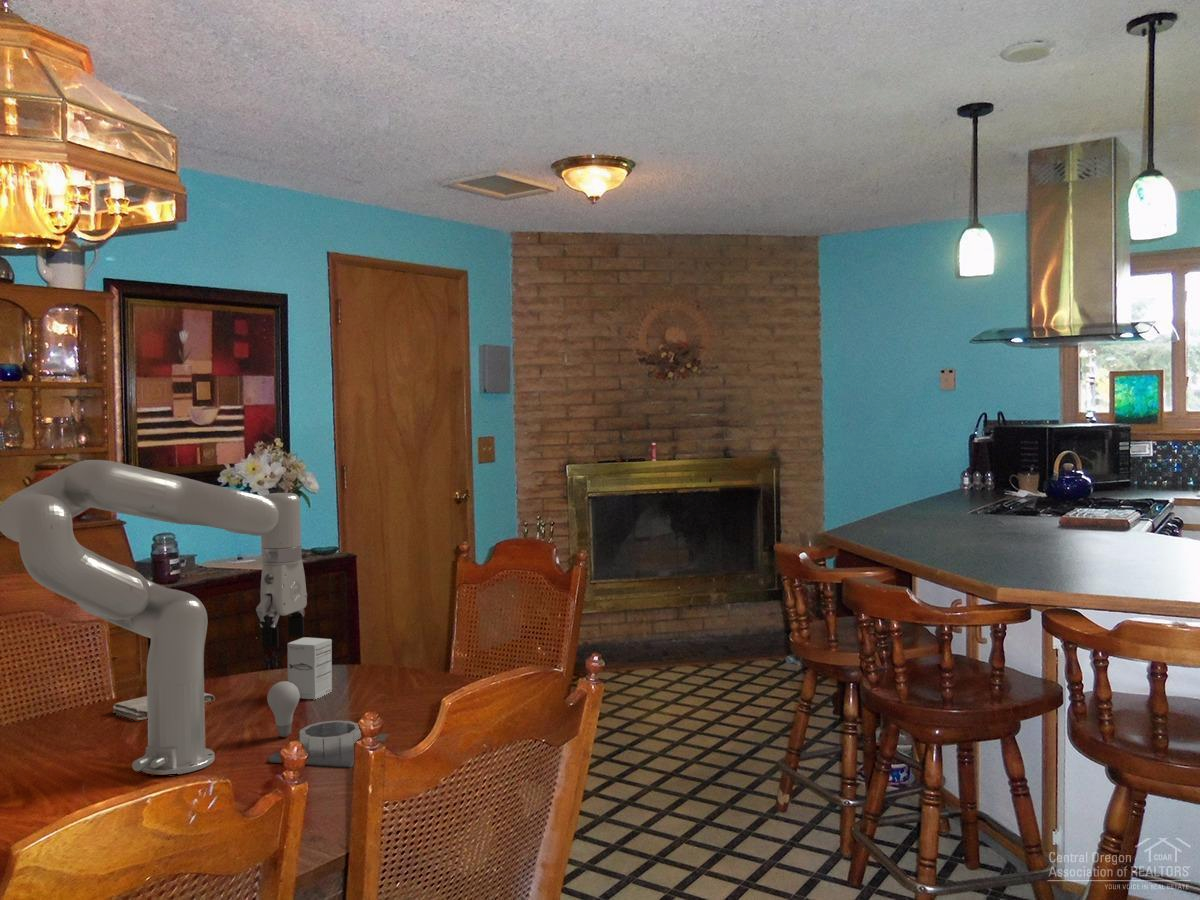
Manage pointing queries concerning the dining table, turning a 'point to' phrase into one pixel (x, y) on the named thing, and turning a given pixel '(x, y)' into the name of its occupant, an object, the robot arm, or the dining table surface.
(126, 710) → the washcloth
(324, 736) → the duct collar
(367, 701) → the dining table surface
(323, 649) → the supplement box
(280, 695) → the lightbulb
